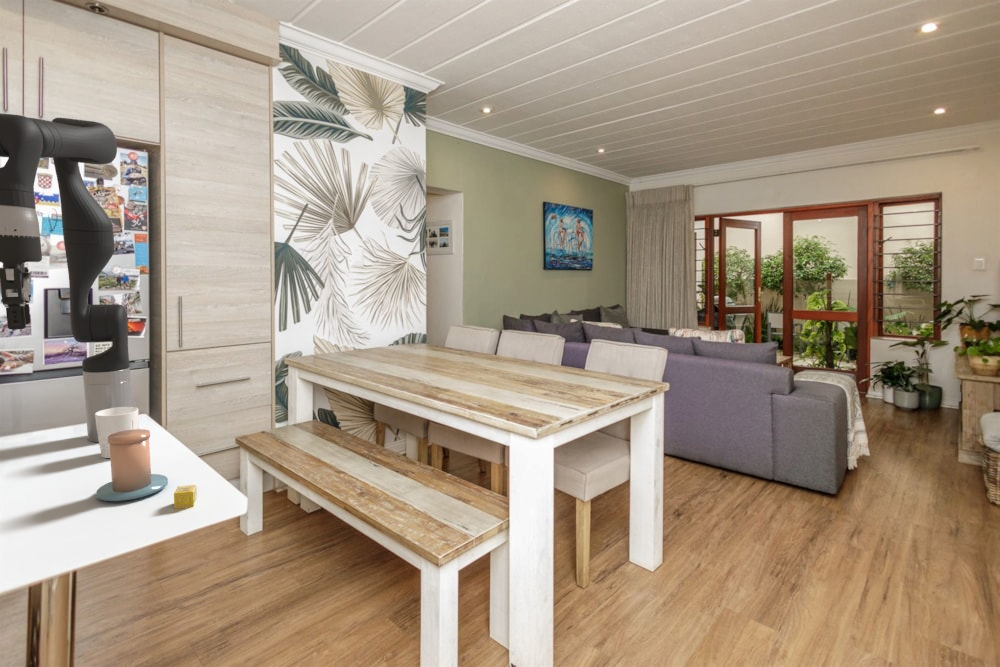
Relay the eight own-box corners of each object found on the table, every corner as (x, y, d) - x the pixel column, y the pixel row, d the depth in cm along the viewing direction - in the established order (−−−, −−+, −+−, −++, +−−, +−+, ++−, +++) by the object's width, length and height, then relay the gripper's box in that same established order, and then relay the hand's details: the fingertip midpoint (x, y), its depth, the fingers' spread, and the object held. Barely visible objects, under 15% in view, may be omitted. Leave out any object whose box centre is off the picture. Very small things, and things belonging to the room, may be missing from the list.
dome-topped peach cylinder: (110, 484, 97) (106, 433, 95) (150, 476, 101) (148, 427, 100) (112, 495, 92) (108, 442, 91) (154, 487, 96) (151, 435, 95)
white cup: (118, 461, 111) (115, 417, 110) (88, 458, 113) (85, 414, 112) (149, 449, 119) (147, 408, 118) (121, 446, 120) (118, 405, 119)
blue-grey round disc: (96, 488, 97) (95, 482, 97) (164, 475, 104) (164, 469, 104) (97, 509, 89) (96, 503, 89) (171, 493, 96) (171, 487, 96)
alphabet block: (197, 499, 94) (196, 484, 93) (194, 507, 91) (193, 490, 90) (178, 502, 93) (177, 486, 92) (174, 509, 90) (173, 493, 89)
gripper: (36, 233, 85) (45, 329, 87) (42, 236, 96) (50, 321, 98) (-28, 230, 80) (-17, 332, 82) (-14, 234, 91) (-4, 323, 93)
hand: (19, 326), depth 90 cm, fingers open, 8 cm apart
